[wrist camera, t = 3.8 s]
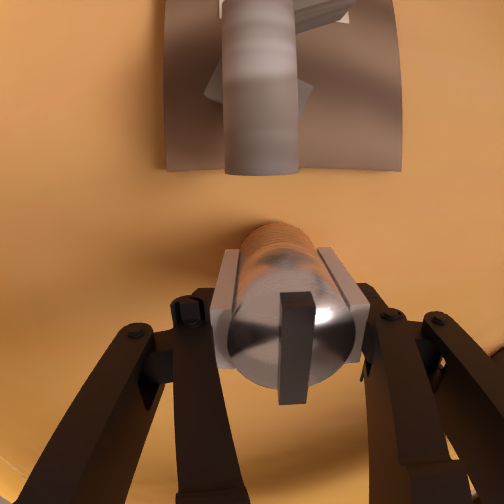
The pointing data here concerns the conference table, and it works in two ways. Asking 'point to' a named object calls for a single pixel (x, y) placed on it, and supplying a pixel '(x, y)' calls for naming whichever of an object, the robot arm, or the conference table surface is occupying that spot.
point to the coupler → (287, 314)
